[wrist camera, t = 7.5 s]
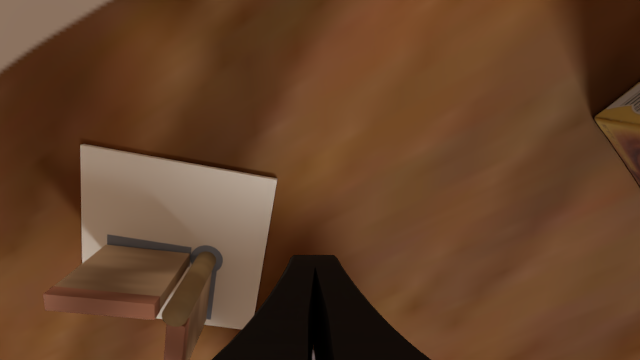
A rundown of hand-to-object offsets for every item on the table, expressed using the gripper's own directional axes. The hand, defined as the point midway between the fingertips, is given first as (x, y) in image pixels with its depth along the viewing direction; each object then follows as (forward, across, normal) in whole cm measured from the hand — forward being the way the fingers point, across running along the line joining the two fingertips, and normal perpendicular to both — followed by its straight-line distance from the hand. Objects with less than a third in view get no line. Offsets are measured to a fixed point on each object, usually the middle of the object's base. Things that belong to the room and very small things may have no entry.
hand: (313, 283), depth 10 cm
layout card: (+10, +8, +4) cm, 14 cm away
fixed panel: (+10, +7, +7) cm, 14 cm away
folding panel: (+9, +10, +5) cm, 15 cm away
